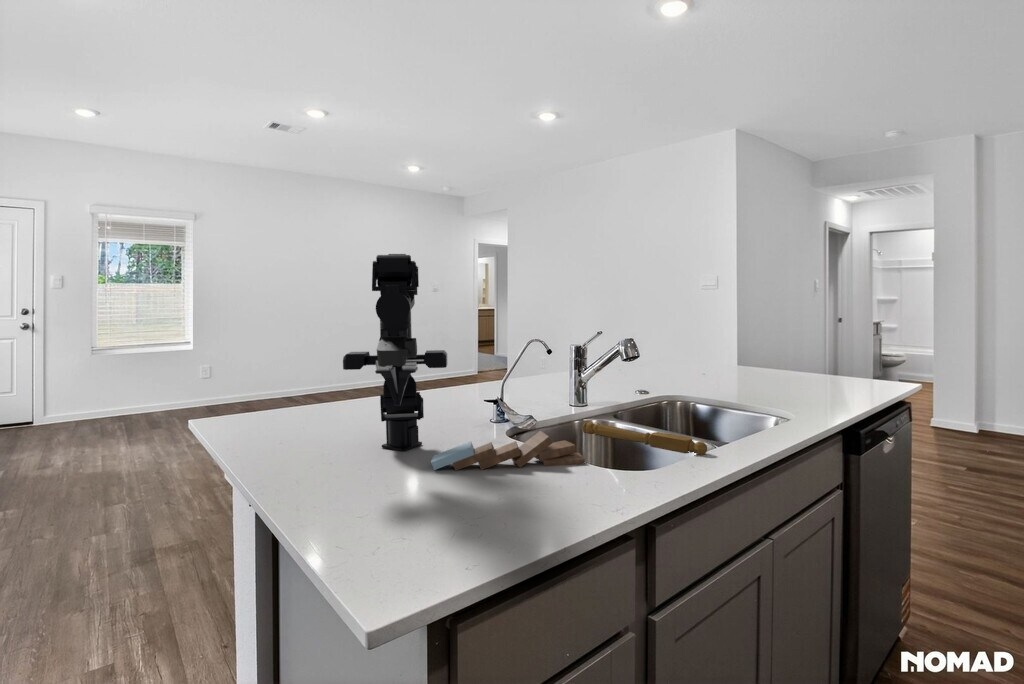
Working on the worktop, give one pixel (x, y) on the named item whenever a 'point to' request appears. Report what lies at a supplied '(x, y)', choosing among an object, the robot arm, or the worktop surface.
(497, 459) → the domino
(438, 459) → the domino
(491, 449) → the domino
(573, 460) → the domino
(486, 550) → the worktop surface
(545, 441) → the domino
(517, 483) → the worktop surface
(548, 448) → the domino
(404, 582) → the worktop surface
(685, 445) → the brown turned wooden rod
